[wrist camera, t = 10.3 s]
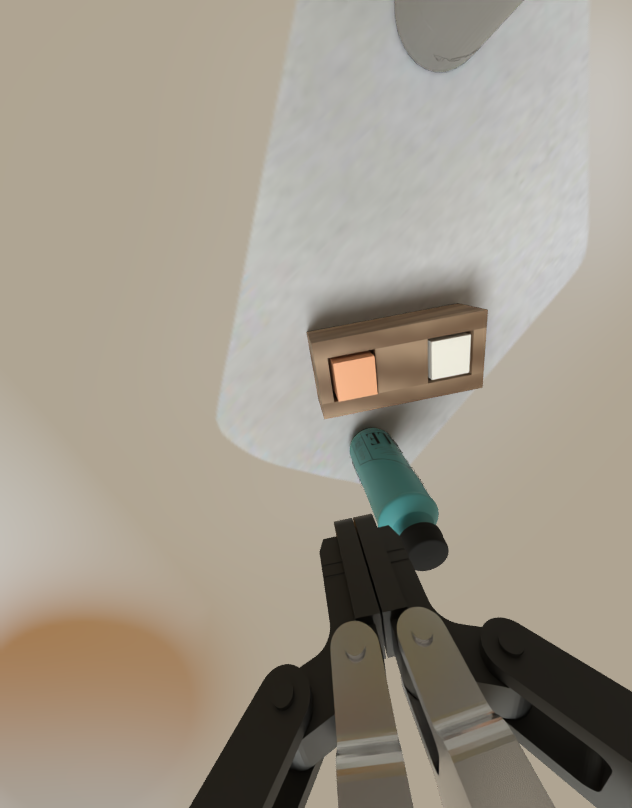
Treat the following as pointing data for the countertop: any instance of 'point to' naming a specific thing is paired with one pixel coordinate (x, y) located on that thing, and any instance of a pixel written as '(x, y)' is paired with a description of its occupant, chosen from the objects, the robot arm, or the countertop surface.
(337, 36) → the countertop surface
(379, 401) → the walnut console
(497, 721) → the robot arm
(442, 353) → the white plug
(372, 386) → the terracotta plug
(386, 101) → the countertop surface
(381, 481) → the beverage bottle
